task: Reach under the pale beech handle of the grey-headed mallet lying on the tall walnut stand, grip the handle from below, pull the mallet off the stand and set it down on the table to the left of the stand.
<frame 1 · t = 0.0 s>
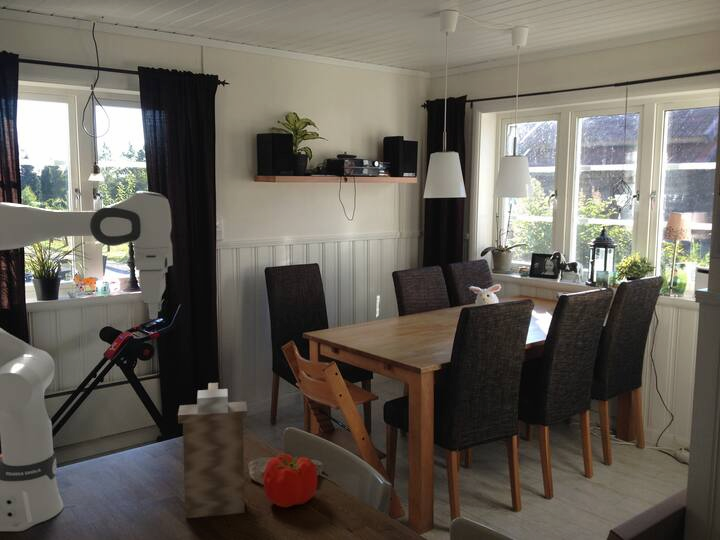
hand: (155, 314, 162), 48 cm above the table, tool pointing down, fingers open, 8 cm apart
walnut stand: (215, 509, 163), on the table
clay tablet: (282, 478, 182), on the table
tomato: (292, 502, 168), on the table
mallet: (213, 409, 159), point 26 cm above the table, touching walnut stand
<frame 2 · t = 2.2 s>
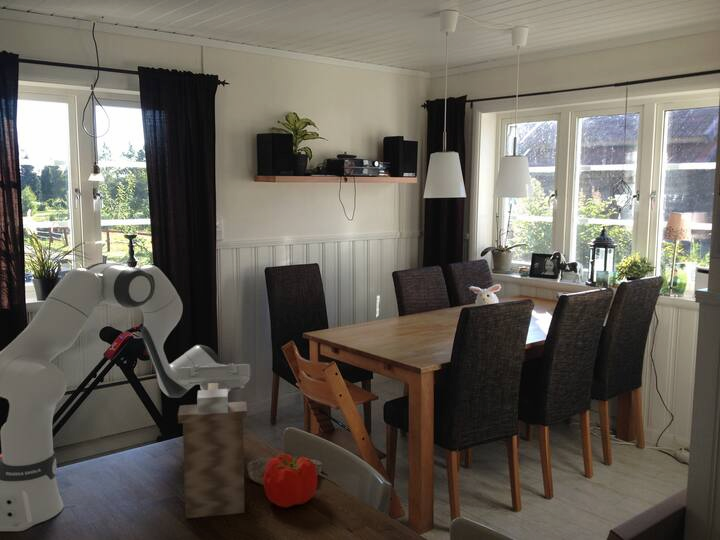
hand: (213, 367, 181), 30 cm above the table, tool pointing upward, fingers open, 8 cm apart
nothing on the table moved.
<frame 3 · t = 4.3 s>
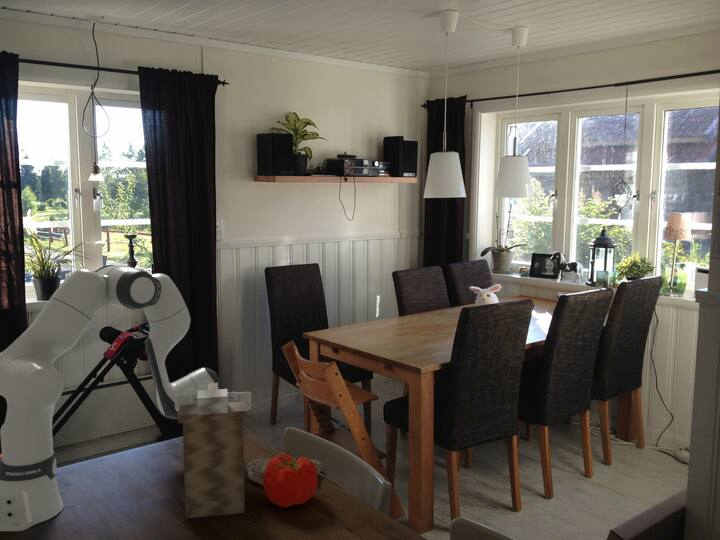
hand: (213, 395, 172), 25 cm above the table, tool pointing upward, fingers open, 8 cm apart
nothing on the table moved.
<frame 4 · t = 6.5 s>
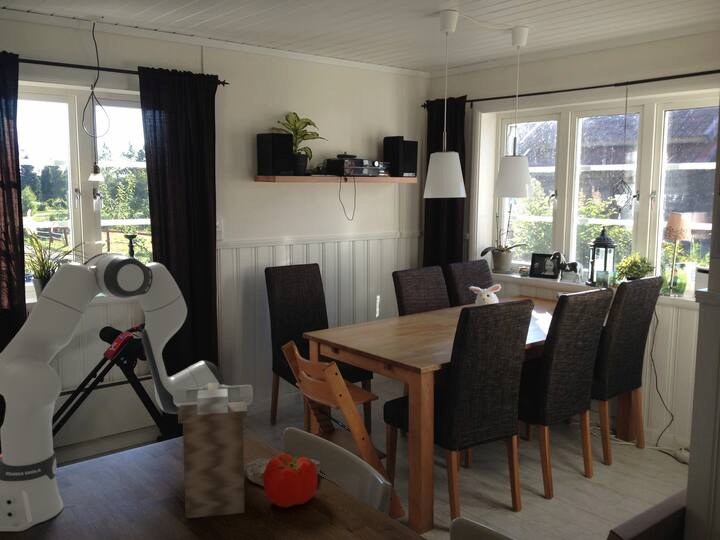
hand: (213, 389, 166), 28 cm above the table, tool pointing upward, fingers closed on mallet, 2 cm apart
mallet: (213, 409, 159), point 26 cm above the table, touching gripper, walnut stand
everything else where it was.
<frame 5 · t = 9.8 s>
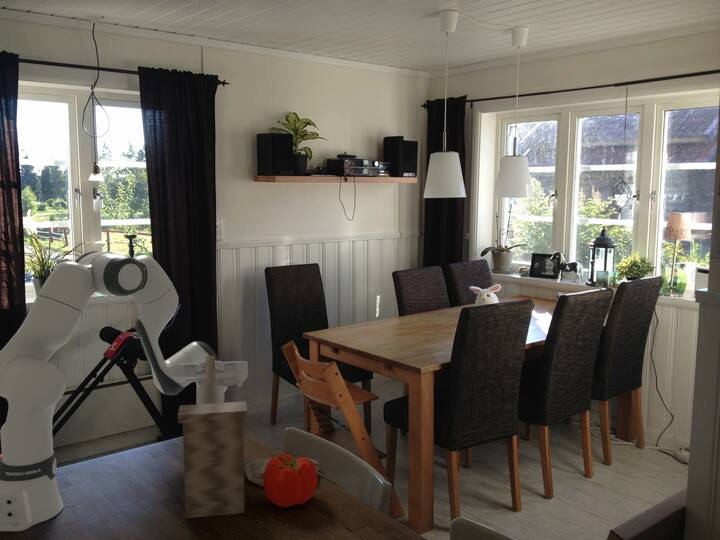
hand: (210, 364, 175), 32 cm above the table, tool pointing upward, fingers closed on mallet, 2 cm apart
mallet: (210, 403, 173), point 23 cm above the table, tilted 49°, touching gripper
everything else where it was.
when the fingers open (20 cm above the table, at t = 13.1 s): mallet drops 11 cm, on the table.
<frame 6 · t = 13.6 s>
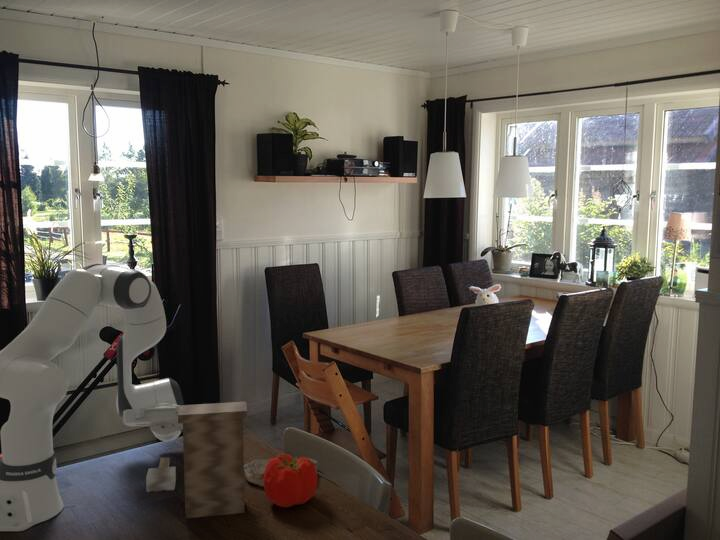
hand: (159, 410, 174), 20 cm above the table, tool pointing upward, fingers open, 8 cm apart
mallet: (161, 486, 176), on the table
everything else where it was.
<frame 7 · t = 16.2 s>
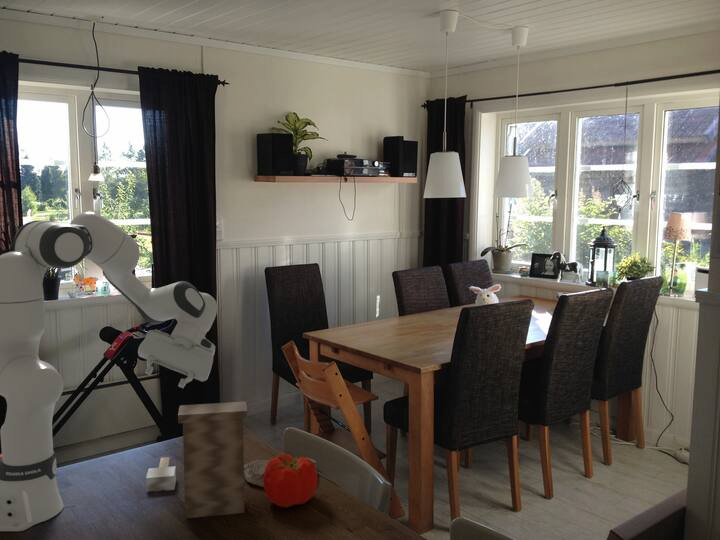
hand: (164, 379, 176), 28 cm above the table, tool tilted 55°, fingers open, 8 cm apart
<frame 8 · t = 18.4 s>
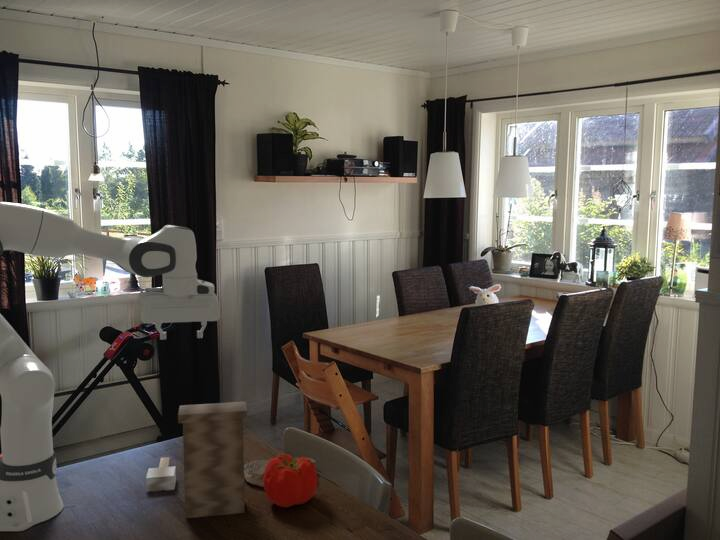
hand: (181, 338, 175), 39 cm above the table, tool pointing down, fingers open, 8 cm apart
at the end: mallet on the table; mallet inside the target area (3.7 cm from its centre), on the table; the gripper is holding nothing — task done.
